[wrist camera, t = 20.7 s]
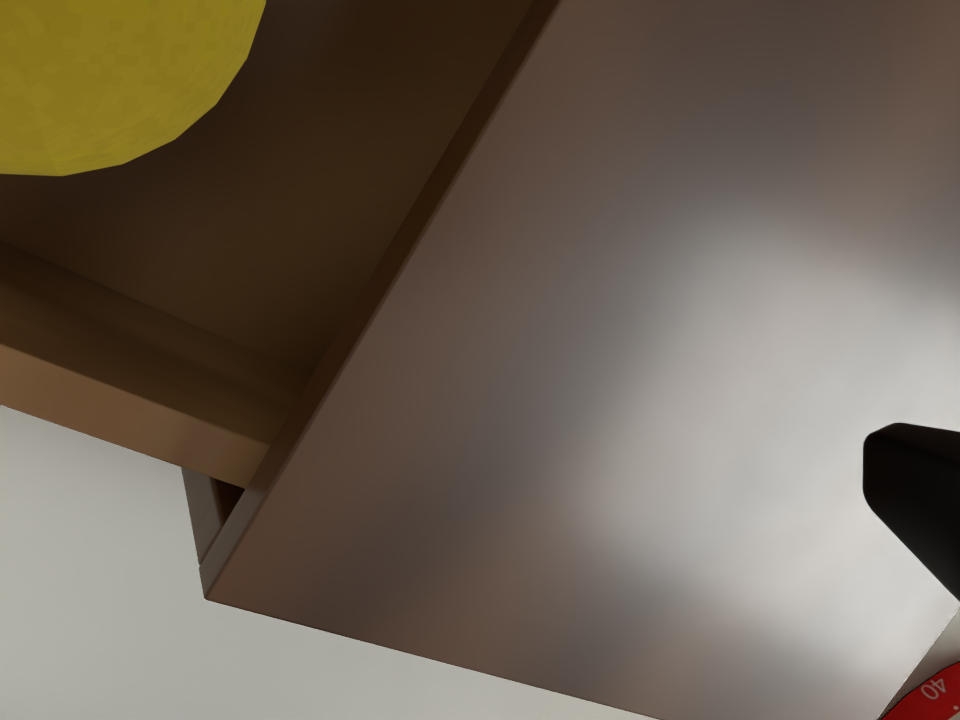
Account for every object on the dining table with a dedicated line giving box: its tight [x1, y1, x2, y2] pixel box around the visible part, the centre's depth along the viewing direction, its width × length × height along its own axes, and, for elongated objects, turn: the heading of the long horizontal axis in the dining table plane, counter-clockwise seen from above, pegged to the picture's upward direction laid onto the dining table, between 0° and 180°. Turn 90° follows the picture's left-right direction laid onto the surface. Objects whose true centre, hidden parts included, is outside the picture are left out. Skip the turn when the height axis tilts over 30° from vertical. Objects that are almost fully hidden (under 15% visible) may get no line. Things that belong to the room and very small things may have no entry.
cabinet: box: [181, 0, 960, 720], centre depth 19 cm, size 17×14×8 cm
